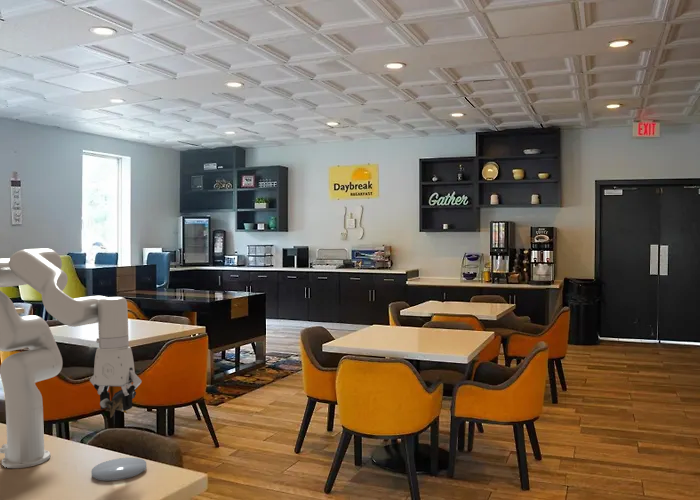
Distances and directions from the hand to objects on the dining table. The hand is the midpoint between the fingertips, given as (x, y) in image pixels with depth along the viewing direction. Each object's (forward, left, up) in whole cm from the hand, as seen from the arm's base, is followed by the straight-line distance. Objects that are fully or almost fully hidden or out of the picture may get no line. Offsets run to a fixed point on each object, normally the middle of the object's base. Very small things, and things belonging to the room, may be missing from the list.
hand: (116, 408), depth 168 cm
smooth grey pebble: (0, 0, -18) cm, 18 cm away
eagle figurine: (0, +2, -2) cm, 3 cm away
